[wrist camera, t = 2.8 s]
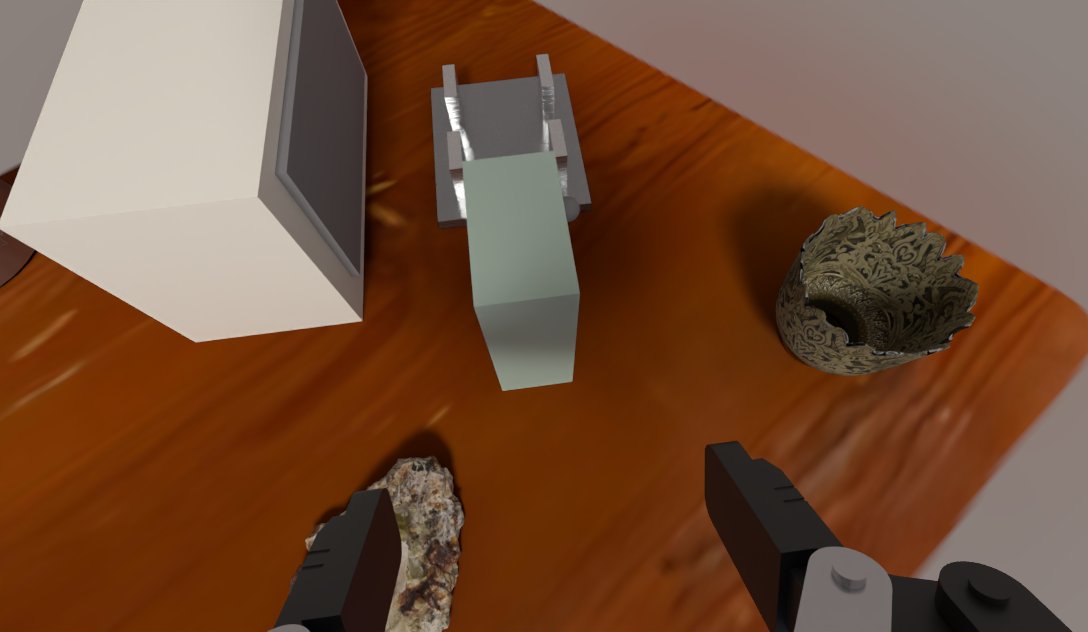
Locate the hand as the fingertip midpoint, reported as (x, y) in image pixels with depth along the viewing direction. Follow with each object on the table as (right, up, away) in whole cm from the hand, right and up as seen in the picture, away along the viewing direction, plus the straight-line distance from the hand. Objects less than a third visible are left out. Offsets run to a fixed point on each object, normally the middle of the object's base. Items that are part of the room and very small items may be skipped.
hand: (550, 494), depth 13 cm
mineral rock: (-8, -8, +13) cm, 17 cm away
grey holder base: (-3, +16, +24) cm, 29 cm away
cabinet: (-17, +13, +22) cm, 31 cm away
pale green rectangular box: (-1, +4, +18) cm, 18 cm away
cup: (+15, +3, +17) cm, 23 cm away
